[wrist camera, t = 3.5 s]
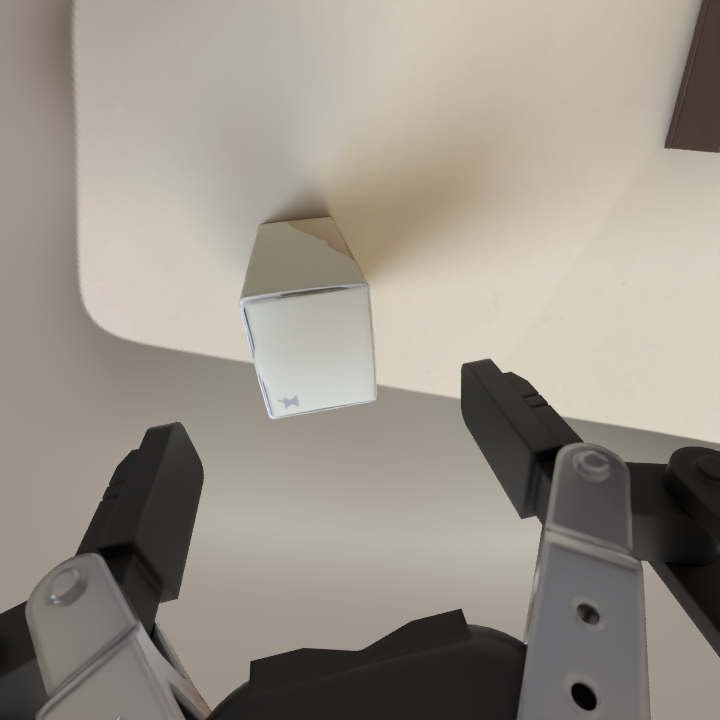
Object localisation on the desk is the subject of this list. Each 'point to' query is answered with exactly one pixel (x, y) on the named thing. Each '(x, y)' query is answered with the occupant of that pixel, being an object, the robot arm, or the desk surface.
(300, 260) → the box
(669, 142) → the box
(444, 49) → the desk surface
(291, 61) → the desk surface
